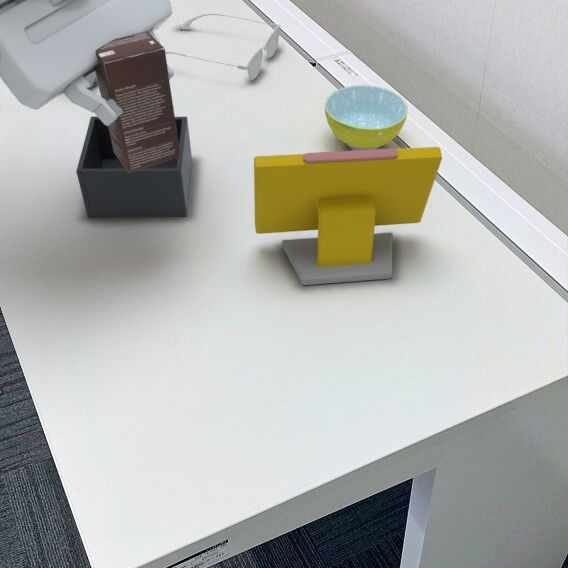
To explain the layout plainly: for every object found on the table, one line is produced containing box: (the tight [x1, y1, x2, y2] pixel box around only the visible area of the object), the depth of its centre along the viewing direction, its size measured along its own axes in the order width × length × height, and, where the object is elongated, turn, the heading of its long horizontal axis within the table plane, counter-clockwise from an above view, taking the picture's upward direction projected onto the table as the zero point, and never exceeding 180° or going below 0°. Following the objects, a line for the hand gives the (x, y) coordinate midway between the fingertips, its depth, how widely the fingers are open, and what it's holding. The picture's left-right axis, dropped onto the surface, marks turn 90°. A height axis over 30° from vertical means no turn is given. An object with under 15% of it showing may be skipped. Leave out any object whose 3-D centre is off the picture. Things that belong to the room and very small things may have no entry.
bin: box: [75, 115, 193, 218], centre depth 98 cm, size 12×12×7 cm
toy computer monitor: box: [253, 146, 443, 286], centre depth 87 cm, size 20×8×16 cm, turn 100°
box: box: [95, 31, 181, 173], centre depth 76 cm, size 6×4×12 cm
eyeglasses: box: [165, 13, 282, 81], centre depth 124 cm, size 15×18×4 cm
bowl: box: [324, 84, 409, 151], centre depth 108 cm, size 11×12×6 cm
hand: (142, 99), depth 75 cm, fingers closed on box, 7 cm apart
